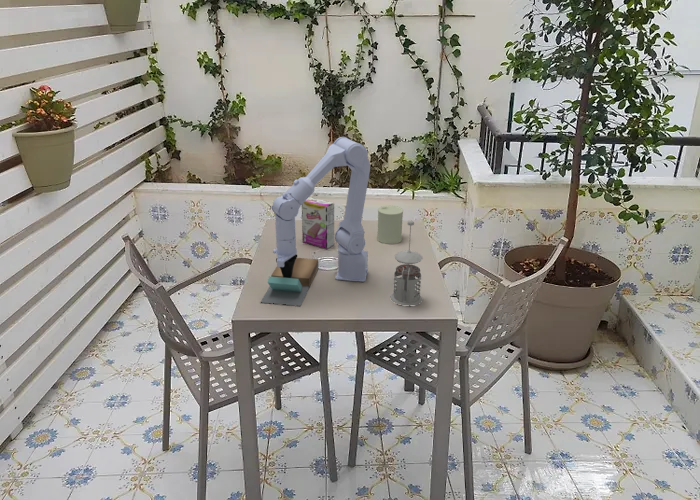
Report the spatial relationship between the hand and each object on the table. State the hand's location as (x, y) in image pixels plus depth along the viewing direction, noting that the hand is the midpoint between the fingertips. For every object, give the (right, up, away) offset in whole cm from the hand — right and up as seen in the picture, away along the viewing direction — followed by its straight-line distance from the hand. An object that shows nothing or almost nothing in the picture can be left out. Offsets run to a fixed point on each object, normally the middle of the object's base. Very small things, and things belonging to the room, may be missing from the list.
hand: (287, 278), depth 172 cm
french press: (+36, -6, -3) cm, 36 cm away
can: (+34, +12, +39) cm, 53 cm away
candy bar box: (+7, +11, +34) cm, 36 cm away
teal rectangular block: (0, -1, -2) cm, 2 cm away
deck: (+2, 0, +11) cm, 11 cm away
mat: (0, -5, -1) cm, 5 cm away
